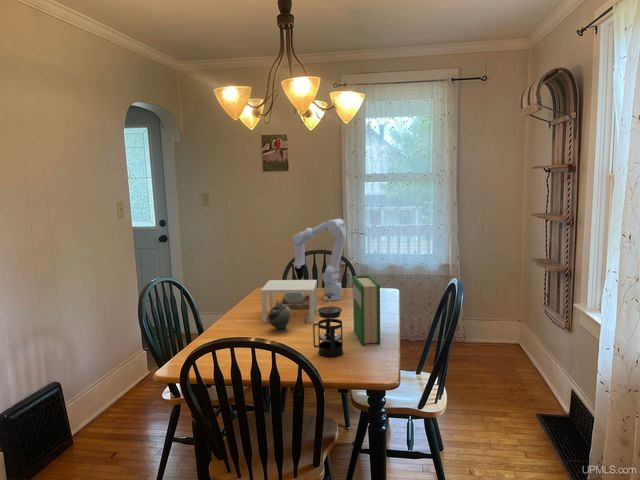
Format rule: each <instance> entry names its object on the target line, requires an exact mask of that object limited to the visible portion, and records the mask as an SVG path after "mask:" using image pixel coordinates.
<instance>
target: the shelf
mask: <svg viewBox="0 0 640 480" xmlns="http://www.w3.org/2000/svg"><path fill="white" fill-rule="evenodd" d="M317 280H318V279H302V280H298V279H274V280H273V279H272V280H271V279H269V280H268V281H267V282H266V283H265V285H264V286H263V287H262V288H261V289H260V295H261V296H260V297H261V298H260V300H261V320H262V321H261V323H263V324H266V323H267V322H268V323H270V322H269V321H268V317H267V316H268V315H267V313H268V312H267V294H268V300H269V302H268V303H269V304H268V305H269V312H270V311H271V310H272V308H273V307H275V305H274V302H275V301H274V294H285V293H305V294H308V296H309V301H310V307H309V310H308V311H307V315H306V316H305V321H304V322H305V323H306V324H308V321H309V323H310V324H314V323H315V312H318V283H317V282H318V281H317ZM284 296H285V295H283V296H282V297H281V300H280V301H279V302H278V304H280V303H281V301H282V299H283V298H284Z"/></svg>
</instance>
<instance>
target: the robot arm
mask: <svg viewBox="0 0 640 480" xmlns="http://www.w3.org/2000/svg"><path fill="white" fill-rule="evenodd" d="M346 225H347V224H346V222H345V221H344V220H343V219H342V218H336V219H335V218H334V219H329V220H326V221H325V222H322V223H321V224H318V225H317V226H314V228H311V227H306V228H305V230H303V231H299V232H298V233H295V234H294V235H293V236H292V238H291V241H292V243H293V244H294V245H293V246H294V262H292V265H295V267H293V269H294V271H295V273H296V278H297V280H303V278H304V272H305V268H306V258H305V257H306V255H305V253H306V251H305V245H306V242H308V241H309V240H311V239H313V238H315V237H316V234H318V233H320V232H322V231H329V232H330V233H331V234H332V235H333V236H334V239H335V240H334V245H333V246H332V247H333V248H332V251H331V256H330V259H329V262H328V263H329V264H328V265H327V266H326V268H325V270H324V272H323V273H322V275H321V279H322V281H323V282H324V283H323V284H324V294H325V293H334V294H335V295H334V296H331V299H330V301H341V300H342V297H343V291H342V282H339V279H340V276H341V275H340V274H341V273H340V270H341V268H340V262H341V259H342V256H343V251H344V249H345V244H346V241H347V238H348V237H347V231H346V230H347V229H346ZM323 296H324V295H323ZM323 301H329V299H328V296H324V298H323Z"/></svg>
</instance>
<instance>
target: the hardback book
mask: <svg viewBox="0 0 640 480" xmlns="http://www.w3.org/2000/svg"><path fill="white" fill-rule="evenodd" d="M352 283H353V284H352V288H353V289H352V291H353V292H352V297H353V298H352V300H353V302H352V303H353V332H354V334H355V335H356V338H357V339H358V341H359V343H360V344H361V346H363V347H364V346H365V344H372V343H377V345H379V346H380V345H381V284H380V283H379V282H377V280H376V279H374V278H373V276H371V275H370V274H369V275H353V276H352Z"/></svg>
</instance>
